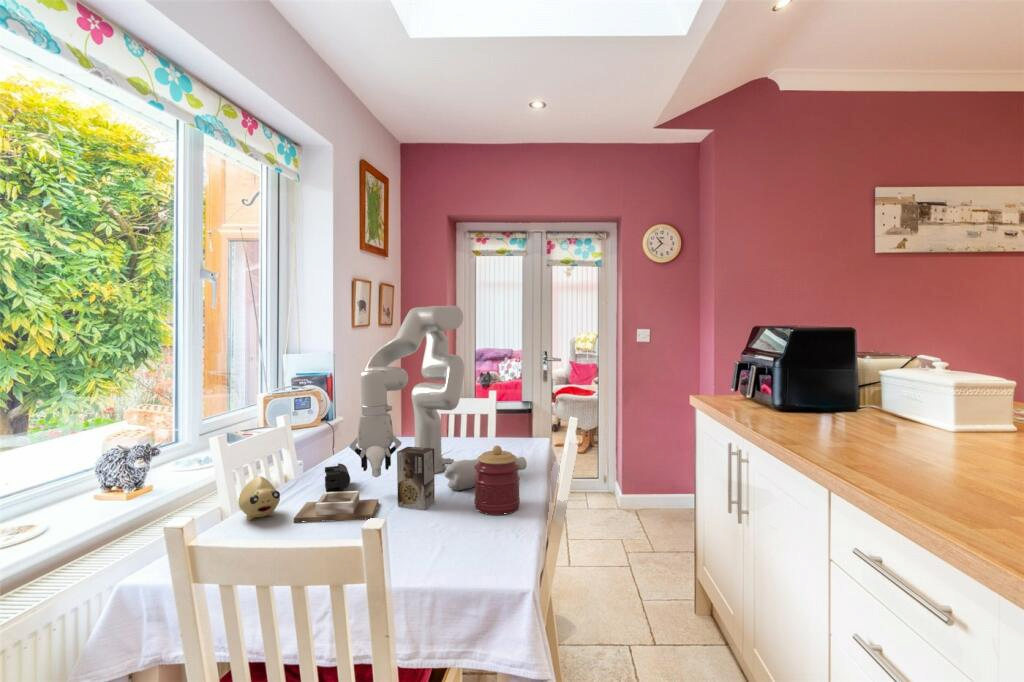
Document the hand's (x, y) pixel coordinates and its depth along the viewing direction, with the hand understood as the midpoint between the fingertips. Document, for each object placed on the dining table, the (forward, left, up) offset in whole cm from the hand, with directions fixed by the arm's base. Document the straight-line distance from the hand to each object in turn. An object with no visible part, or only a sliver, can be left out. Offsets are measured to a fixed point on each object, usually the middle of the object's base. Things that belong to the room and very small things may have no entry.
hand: (376, 468), depth 148 cm
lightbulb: (0, 0, -3) cm, 3 cm away
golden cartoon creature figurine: (+28, +14, -9) cm, 33 cm away
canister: (-36, +15, -9) cm, 39 cm away
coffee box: (-13, +10, -9) cm, 18 cm away
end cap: (+13, -9, -9) cm, 18 cm away
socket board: (+8, +13, -8) cm, 17 cm away
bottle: (-35, -9, -9) cm, 37 cm away
